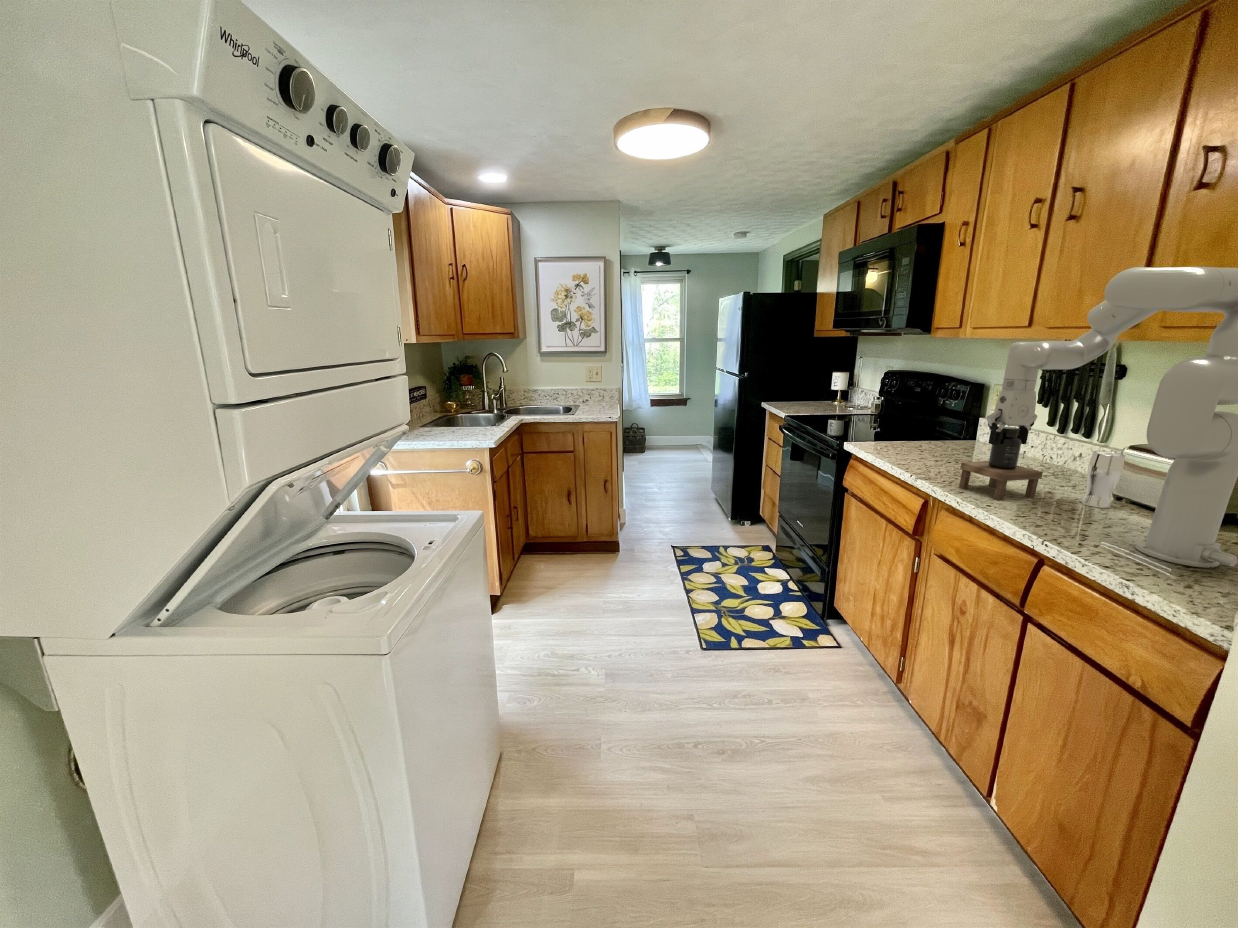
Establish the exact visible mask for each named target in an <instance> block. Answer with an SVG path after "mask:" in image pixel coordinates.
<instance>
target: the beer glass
mask: <svg viewBox="0 0 1238 928" xmlns="http://www.w3.org/2000/svg"><path fill="white" fill-rule="evenodd" d="M1125 459H1126V455H1125V454H1123V453H1121V452H1120V453H1119V452H1113V451H1105V450H1104V451H1103V450H1094V451H1092V455H1091V457H1090V459H1089V463H1088V467H1087V471H1086V472H1087V473H1086V490H1085V494H1084V495H1083V497H1082V498H1081V502H1080V503H1082V504H1083V505H1086V506H1088V507H1089V506H1090V507H1092V508H1093V507H1094V508H1099V509H1108V508H1109V509H1110V508H1111V504H1112V503H1111V498H1112V494H1113V492H1114V490H1115V487H1116V486H1117V484H1118V482H1119V480H1120V478H1121V475H1122V473H1123V470H1124V466H1125V465H1124V464H1125Z"/></svg>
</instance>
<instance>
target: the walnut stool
mask: <svg viewBox="0 0 1238 928" xmlns="http://www.w3.org/2000/svg"><path fill="white" fill-rule="evenodd" d="M960 470H961V474H960V480H959V486H958V489H959V488H960V489H963V490H965V489H967V490H968V488H969V482H970V478H971V473H974V474H977V475H981V476H984V477H988V478H989V481H988V486H990V487H994V488H995V491H994V495H993V500H996V501H999V502H1000V501H1004V497H1005V493H1006V488H1007V486H1008V485H1007V483H1008V482H1011V481H1027V485H1026V488H1025V489H1026V490H1025V494H1024V497H1025V498H1028V499H1035V496H1036V491H1037V488H1038V484H1039V480H1041V479H1042V477H1043V475H1044V474H1043V471H1040V470H1036V469H1032V468H1029V467H1026V466H1021V465H1017V467H1016V468H1015V469H1012V470H1007V469H998V468H993V467H990V466H989V460H982V461H981V460H979V461H964V462H961V463H960Z"/></svg>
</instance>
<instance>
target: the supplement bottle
mask: <svg viewBox="0 0 1238 928" xmlns="http://www.w3.org/2000/svg"><path fill="white" fill-rule="evenodd" d="M1019 430H1020V429H1019V428H1018V427H1015V426H1005V427H1004V428H1003V429H1002V430H1001V431H1000V432H1002V438H1001V443H1000V445H993V444H991V447H990V452H989V458H988V461H989V466H990V467H993V468H998V469H1007V470H1012V469H1015V468H1016V467H1017V466H1018V461H1019V458H1020V457H1019V456H1020V452H1021V447H1022V444H1021V439H1020V438H1018V437H1017V436H1018V435H1019Z"/></svg>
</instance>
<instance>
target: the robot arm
mask: <svg viewBox="0 0 1238 928" xmlns="http://www.w3.org/2000/svg"><path fill="white" fill-rule="evenodd" d="M1103 296H1104V299H1105V300H1103V301H1102V302H1100V303H1098V304H1097V305H1095V306H1093V307H1092V308H1091V309H1090V310H1089V311H1088V313H1087V322H1088V325H1089V326H1090V328H1091V329H1089V331H1087V332H1085V333H1083V334H1082V335H1080V336H1078V337H1077V338H1076V339H1073V340H1045V341H1044V340H1041V341H1017V342H1013V343H1011V345H1010V346H1009V349H1008V355H1007V360H1006V365H1005V371H1004V376H1003V381H1002V387H1001V390H1000V392H999V394H998V397H997V401H996V404H995V406H994V407H995V408H994V411H993V413H991V414H989V415H987V416H986V421H987V426H988V427H989V429H988V430H989V432H990V433H989V437H988V444H990V445H992V444H993V445H1000V443H1001V438H1002V432H1000V431H1001V430H1002V429H1003V428H1004V427H1006V426H1007V427H1017V428H1019V435H1018V436H1017V437H1018V438H1020V439H1021V445H1027V442H1028V438H1029V432H1030V431H1031V430H1032V428H1033V426H1034V425H1035V422H1036V420H1037V419H1038V414H1036V406H1037V391H1036V385H1037V380H1038V376H1039V370H1074V369H1077V368H1080V367H1082V366H1084V365H1086V364H1088V363H1090V362H1091V361H1093V360H1095V359H1097V358H1098V357H1100V356H1102V355H1104V354H1105V353H1106V352H1107V351H1109V350H1110V349H1111V348H1112V346H1113V345H1114V344H1115V342H1116V341H1117V340H1118V337H1119V335H1120V334H1122V333H1124V332H1126V331H1127V330H1129V329H1130V328H1133V327H1134V326H1136V325H1138V324H1139V323H1141V322H1143V321H1145V320H1146V319H1148V318H1150V317H1151V316H1153V315H1155V314H1156V313H1158V312H1160V311H1162V312H1163V311H1165V312H1181V313H1220V314H1223V315H1224V317H1223V318H1222V320H1221V321H1220V322H1219V324H1218V325H1216V327H1215V328H1214V330H1213V332H1212V333H1211V336H1210V339H1209V343H1208V346H1207V348H1206V352H1205V355H1204V356H1195V357H1191V358H1186V359H1184V360H1180V361H1179V362H1177V363H1175V364H1173V366H1171V367H1170V368H1169V369H1168V370H1167V371H1166V372H1165V373H1164V375H1163V377H1162V378H1161V380H1160V382H1159V384H1158V388H1157V390H1156V394H1155V399H1154V401H1153V405H1152V408H1151V413H1150V416H1149V419H1148V424H1147V428H1146V441H1147V444H1148V446H1149V448H1150V449H1151V450H1152V452H1154V453H1156V454H1157V455H1159V456H1160V457H1164V458H1168V459H1174V460H1173V462H1172V463H1171V464H1170V466H1169V468H1168V470H1167V472H1166V475H1165V478H1164V481H1163V484H1162V488H1161V491H1160V494H1159V497H1158V501H1157V504H1156V507H1155V510H1154V514H1153V518H1152V521H1151V524H1150V527H1149V529H1148V530H1149V531H1148V533H1147V538H1144V539H1138V540H1136V541H1135V543H1134V548H1135V549H1136V550H1138V551H1139V552H1141V553H1143V554H1145V555H1148V556H1149V557H1153V558H1155V559H1158V560H1161V561H1165V562H1170V563H1173V564H1178V565H1182V566H1183V565H1184V566H1187V567H1193V568H1194V567H1196V568H1208V569H1209V568H1210V567H1211V568H1217V567H1218V566H1219V565H1220V564H1221V565H1225V566H1228V567H1234V566H1236V564H1237V563H1238V558H1237V555H1235V554H1231V553H1229V552H1224V551H1222V550H1221V546H1222V544H1221V543H1218V542H1216V540H1217V537H1218V533H1219V532H1220V529H1221V525H1222V521H1223V519H1224V516H1225V514H1226V510H1227V507H1228V504H1229V501H1230V498H1231V496H1232V493H1233V490H1234V487H1235V485H1236V483H1237V479H1238V413H1235V412H1231V411H1221V410H1219V411H1218V410H1216V409H1217V406H1230V405H1233V406H1234V405H1238V267H1216V266H1215V267H1213V266H1180V267H1179V266H1174V267H1173V266H1172V267H1171V266H1170V267H1165V266H1164V267H1163V266H1162V267H1160V266H1159V267H1153V266H1152V267H1150V266H1149V267H1147V266H1136V267H1131V268H1127V269H1125V270H1122V271H1121V272H1119V273H1117V274H1116V275H1115V276H1113V277H1112V278H1111V279H1110V280H1109V281H1108V283H1106V286H1105V288H1104V293H1103Z"/></svg>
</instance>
